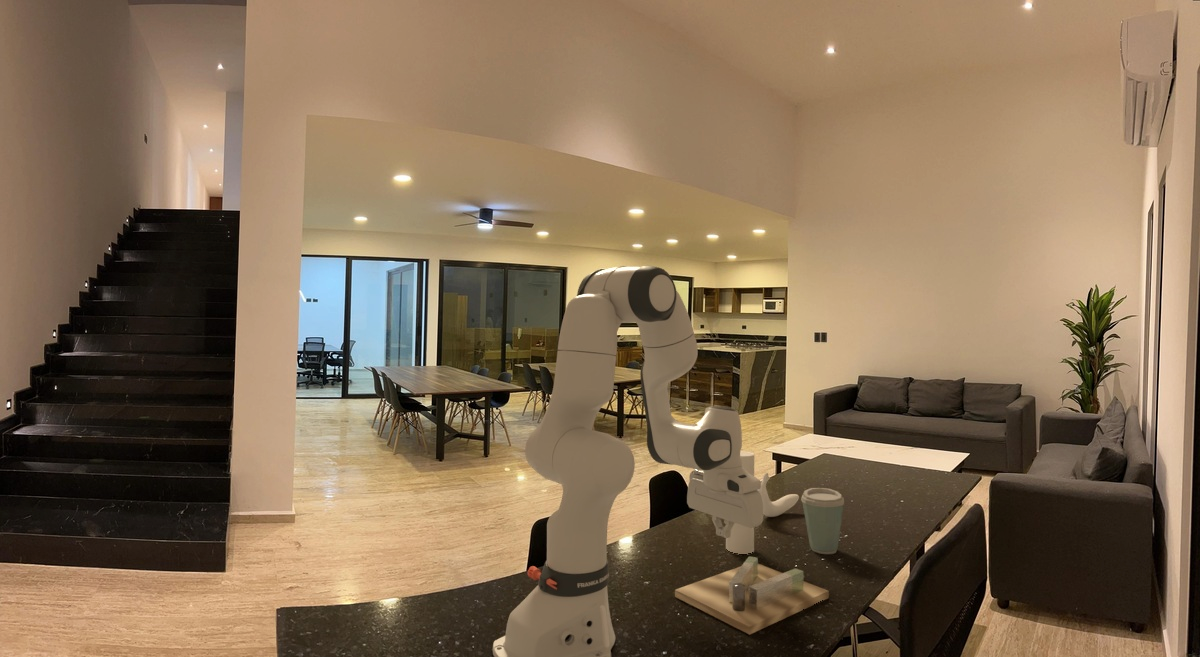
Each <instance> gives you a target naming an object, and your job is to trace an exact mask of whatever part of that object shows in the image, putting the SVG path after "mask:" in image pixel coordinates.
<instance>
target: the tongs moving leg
mask: <svg viewBox="0 0 1200 657" xmlns="http://www.w3.org/2000/svg"><path fill="white" fill-rule="evenodd" d="M758 564H759V560H758V557H756V556H750V555H749V556H748V557H747V558H746V559H745V561H743V564H741V567H740V566H739V567H740V569H739V570H738V571H737V573H736V574H735V575H734V576H733V578H732V579H731V580H730V582H729V602H732V608H733V609H734V610H736V611H744V610H745V594H746V592H747V591H748V589H749V586H751V585H752V583H753V582H754V580H755V579H756V577H757V576H758Z"/></svg>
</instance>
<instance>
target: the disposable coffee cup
mask: <svg viewBox="0 0 1200 657" xmlns="http://www.w3.org/2000/svg"><path fill="white" fill-rule="evenodd" d="M800 499H801V500H800V501H801V502H802V507H803V513H804V519H805V520H804V521H805V526H806V530H807V536H808V537H807V538H808V542H809V547H810V549H811V550H812V552H814V553H818V554H822V555H833V554H836V553H837V550H838V548H839V541H840V532H841V526H842V518H843V509H844V505H845V498H844V497H843V494H841V493H840V492H839V491H838V490H834V489H831V488H826V487H811V488H810V487H809V488H808V489H805V490H804V491H803V493H802V495H801V498H800Z"/></svg>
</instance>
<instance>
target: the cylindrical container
mask: <svg viewBox="0 0 1200 657" xmlns="http://www.w3.org/2000/svg"><path fill="white" fill-rule="evenodd" d="M740 457H741V460H742V468H743V469H744V470H746V471H747V472H748V473H750V474H751V475H753V476H754V477H755V453H754V452H752V451H747V450H741V451H740ZM726 549H727V550H728V551H730V552H733V553H732V554H734V553H738V554H737V555H739V554H747V555H749V554H748V553H751V554H753V553H754V552H755V527H753V528H749V527H746V526H743V525H740V524H737V523H734V525H733V527H732V529H731V536H730V537H729V538H725V550H726ZM727 550H726V551H727ZM728 551H727V552H728ZM730 552H729V553H730ZM752 552H753V553H752Z"/></svg>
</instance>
